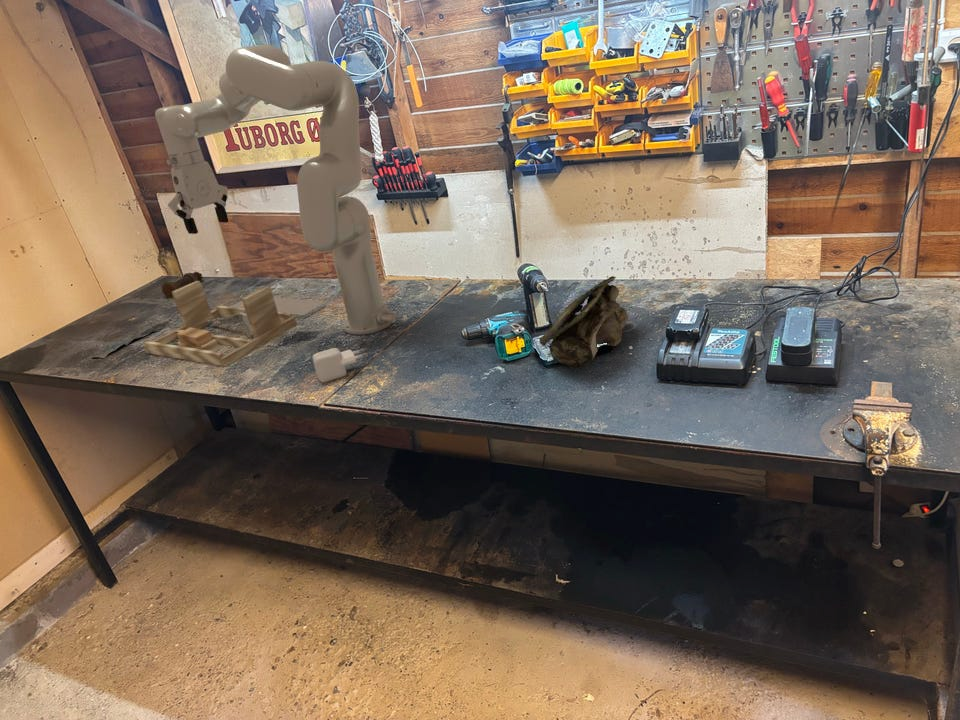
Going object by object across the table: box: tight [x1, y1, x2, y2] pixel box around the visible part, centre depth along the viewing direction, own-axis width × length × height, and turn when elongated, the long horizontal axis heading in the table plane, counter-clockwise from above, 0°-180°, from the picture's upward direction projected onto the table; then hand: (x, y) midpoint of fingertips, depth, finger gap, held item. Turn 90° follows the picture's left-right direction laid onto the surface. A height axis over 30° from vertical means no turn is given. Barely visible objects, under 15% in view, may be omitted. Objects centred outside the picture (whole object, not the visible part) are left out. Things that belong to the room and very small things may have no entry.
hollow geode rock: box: [539, 275, 629, 369], centre depth 129 cm, size 28×13×15 cm
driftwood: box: [92, 322, 162, 359], centre depth 172 cm, size 21×7×2 cm, turn 154°
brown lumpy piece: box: [161, 271, 203, 299], centre depth 207 cm, size 6×5×15 cm
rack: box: [143, 280, 298, 367], centre depth 162 cm, size 30×24×12 cm
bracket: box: [207, 312, 254, 339], centre depth 167 cm, size 3×21×10 cm, turn 53°
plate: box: [230, 296, 327, 319], centre depth 180 cm, size 29×9×1 cm, turn 61°
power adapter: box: [312, 347, 369, 383], centre depth 136 cm, size 11×5×6 cm, turn 114°
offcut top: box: [177, 327, 213, 347], centre depth 158 cm, size 8×4×2 cm, turn 57°
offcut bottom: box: [177, 340, 221, 352], centre depth 159 cm, size 10×4×3 cm, turn 60°
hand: (209, 227), depth 164 cm, fingers open, 9 cm apart
